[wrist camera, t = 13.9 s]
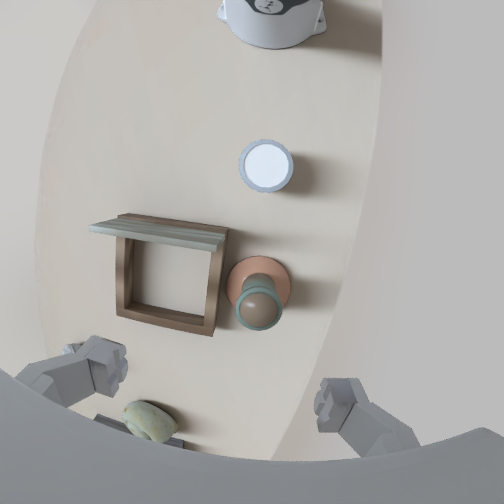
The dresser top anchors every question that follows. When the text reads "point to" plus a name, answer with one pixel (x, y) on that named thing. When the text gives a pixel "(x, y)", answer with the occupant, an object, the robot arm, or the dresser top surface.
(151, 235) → the frame
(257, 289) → the plant pot
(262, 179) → the shot glass
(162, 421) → the seashell
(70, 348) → the grey rock chunk
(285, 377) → the dresser top surface
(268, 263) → the pink round part
